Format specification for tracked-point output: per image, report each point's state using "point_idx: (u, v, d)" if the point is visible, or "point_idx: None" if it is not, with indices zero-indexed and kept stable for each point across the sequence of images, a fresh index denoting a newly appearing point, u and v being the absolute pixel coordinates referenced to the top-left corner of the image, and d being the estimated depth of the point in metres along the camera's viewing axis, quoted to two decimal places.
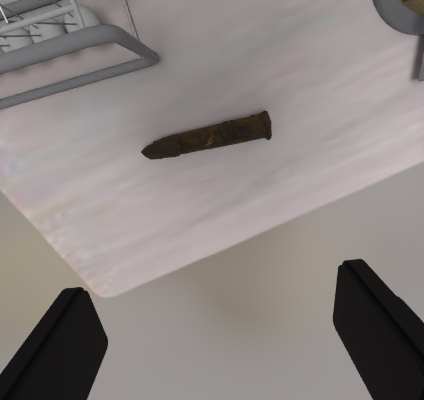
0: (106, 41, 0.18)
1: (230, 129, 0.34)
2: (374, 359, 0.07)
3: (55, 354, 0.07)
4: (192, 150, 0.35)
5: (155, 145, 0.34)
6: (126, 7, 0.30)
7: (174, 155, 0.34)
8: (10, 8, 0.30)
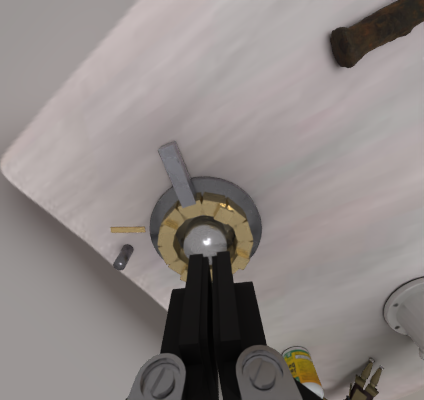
0: None
1: (406, 24, 0.24)
2: None
3: (208, 305, 0.08)
4: None
5: None
6: None
7: None
8: None
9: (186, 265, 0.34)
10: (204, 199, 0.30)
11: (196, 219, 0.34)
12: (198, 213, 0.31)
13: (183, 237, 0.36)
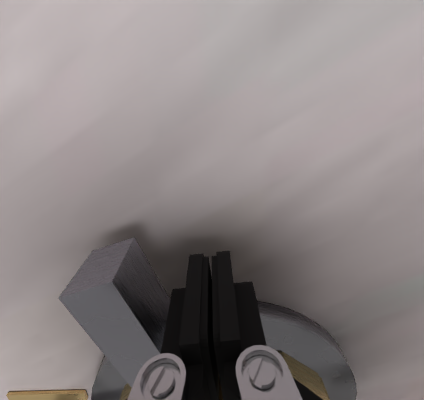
0: None
1: None
2: None
3: (209, 305, 0.08)
4: None
5: None
6: None
7: None
8: None
9: None
10: None
11: None
12: None
13: None
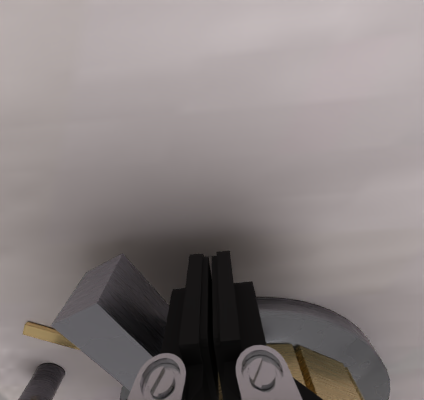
0: None
1: None
2: None
3: (209, 305, 0.08)
4: None
5: None
6: None
7: None
8: None
9: None
10: None
11: None
12: None
13: None
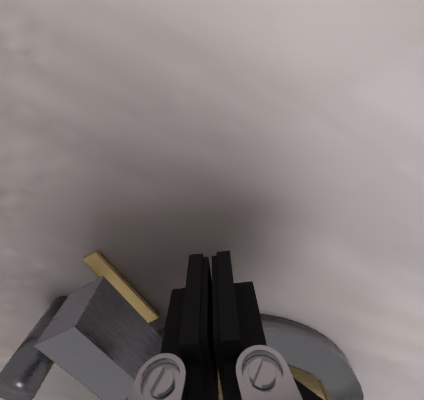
0: None
1: None
2: None
3: (208, 305, 0.08)
4: None
5: None
6: None
7: None
8: None
9: None
10: None
11: None
12: None
13: None
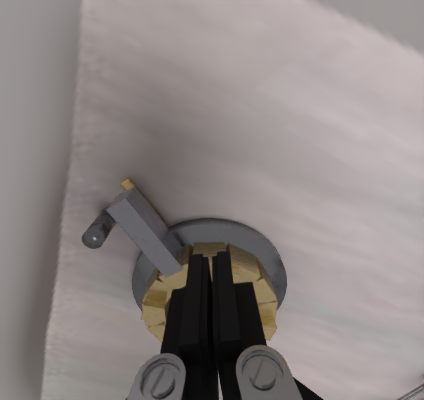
0: None
1: None
2: None
3: (208, 305, 0.08)
4: None
5: None
6: None
7: None
8: None
9: None
10: None
11: None
12: None
13: None
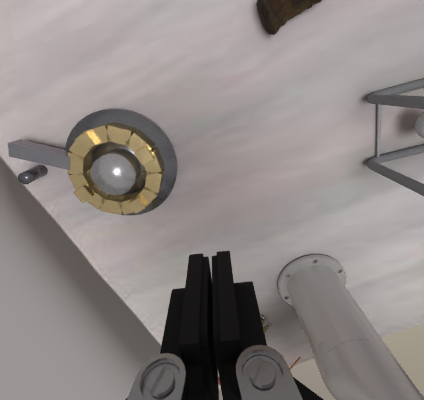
0: None
1: None
2: None
3: (208, 305, 0.08)
4: None
5: None
6: (378, 138, 0.36)
7: None
8: None
9: (129, 200, 0.35)
10: (70, 148, 0.32)
11: (112, 150, 0.34)
12: (80, 160, 0.33)
13: None
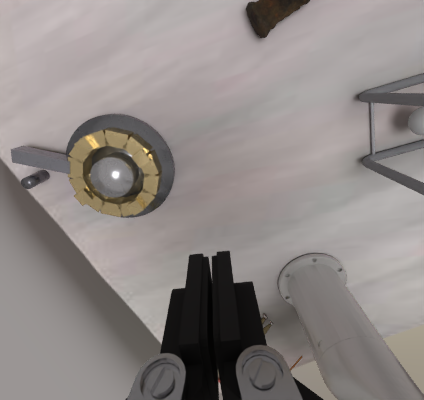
0: None
1: None
2: None
3: (208, 305, 0.08)
4: None
5: None
6: (373, 136, 0.36)
7: None
8: None
9: (128, 202, 0.36)
10: (70, 153, 0.34)
11: (110, 154, 0.35)
12: (80, 165, 0.34)
13: None
